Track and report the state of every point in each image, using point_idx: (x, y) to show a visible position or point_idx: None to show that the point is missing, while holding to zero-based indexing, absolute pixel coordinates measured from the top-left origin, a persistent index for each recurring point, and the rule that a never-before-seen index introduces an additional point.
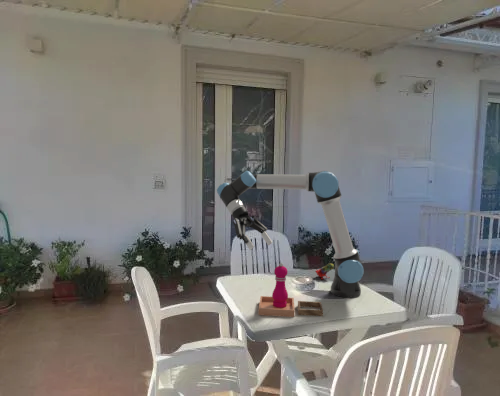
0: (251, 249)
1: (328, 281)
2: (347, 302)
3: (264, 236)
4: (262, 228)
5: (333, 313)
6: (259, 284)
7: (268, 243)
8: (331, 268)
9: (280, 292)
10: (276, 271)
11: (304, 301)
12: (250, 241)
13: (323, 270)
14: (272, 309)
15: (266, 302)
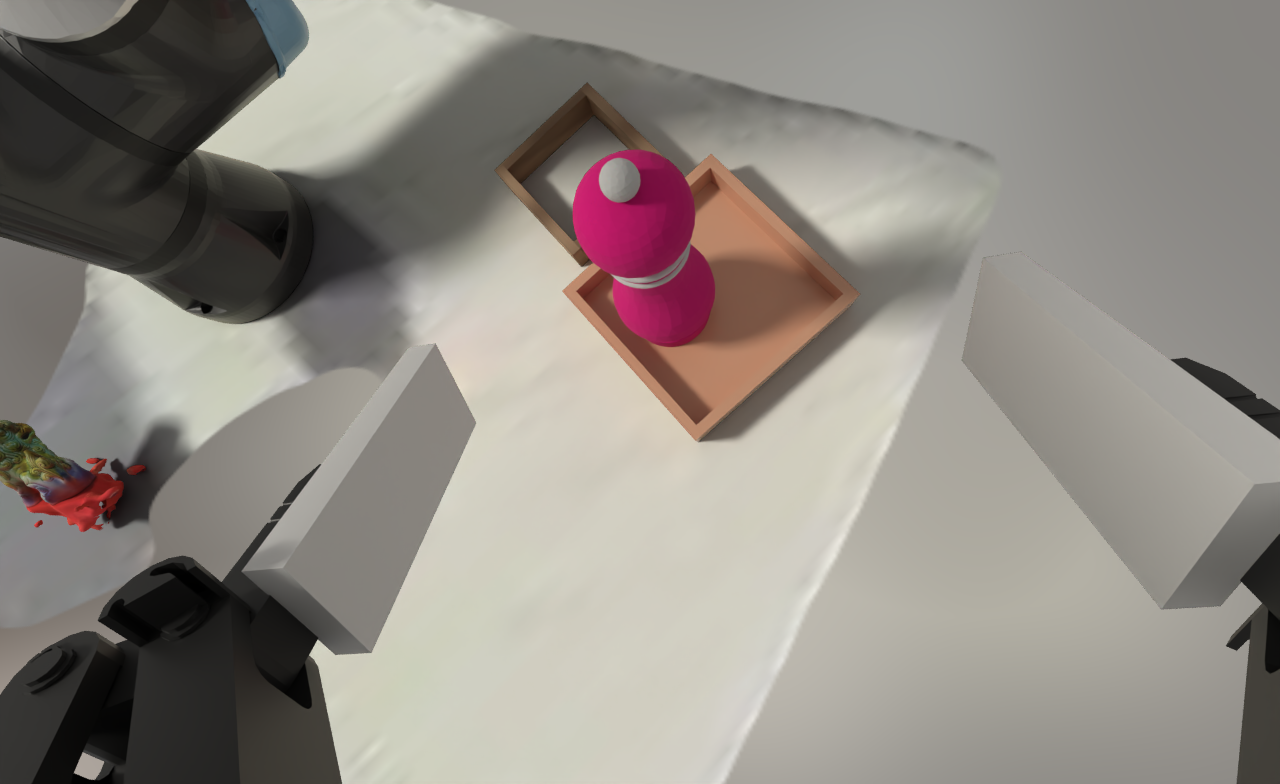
0: (971, 344)
1: (150, 421)
2: (359, 154)
3: (388, 530)
4: (181, 702)
5: (526, 100)
6: (466, 685)
7: (458, 417)
8: (27, 426)
9: (690, 246)
10: (691, 206)
11: (552, 227)
12: (1093, 321)
13: (68, 467)
14: (798, 237)
15: (697, 390)
